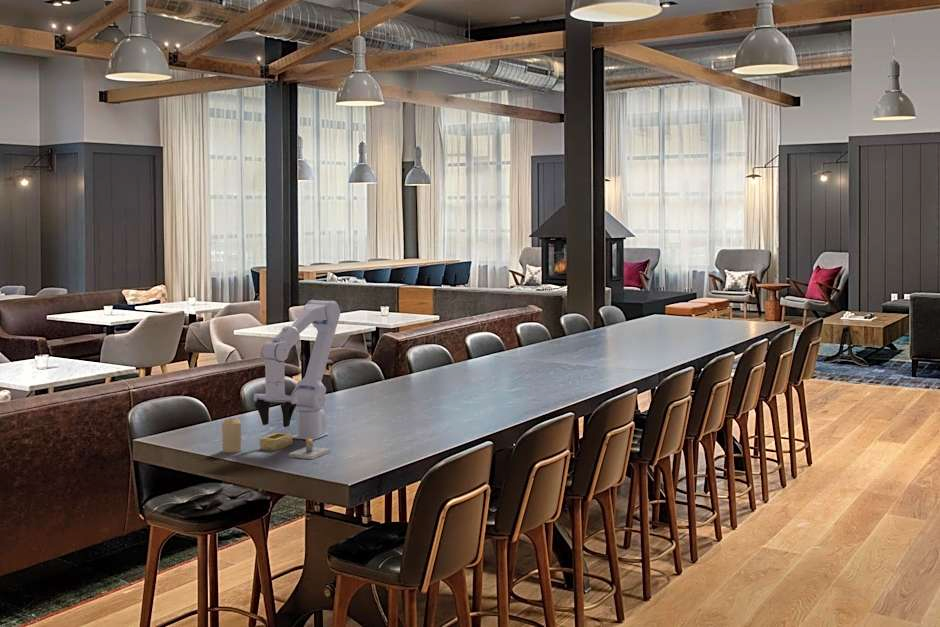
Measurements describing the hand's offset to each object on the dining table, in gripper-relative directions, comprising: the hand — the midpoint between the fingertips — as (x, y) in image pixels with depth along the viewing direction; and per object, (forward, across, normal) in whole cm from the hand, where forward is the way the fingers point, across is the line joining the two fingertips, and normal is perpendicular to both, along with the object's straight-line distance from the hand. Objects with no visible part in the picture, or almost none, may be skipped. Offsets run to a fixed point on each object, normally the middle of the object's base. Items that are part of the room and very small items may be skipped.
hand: (275, 425), depth 308 cm
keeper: (+6, +15, -5) cm, 17 cm away
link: (+6, 0, 0) cm, 7 cm away
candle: (+7, -9, -10) cm, 15 cm away
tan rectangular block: (+6, -5, +5) cm, 10 cm away
